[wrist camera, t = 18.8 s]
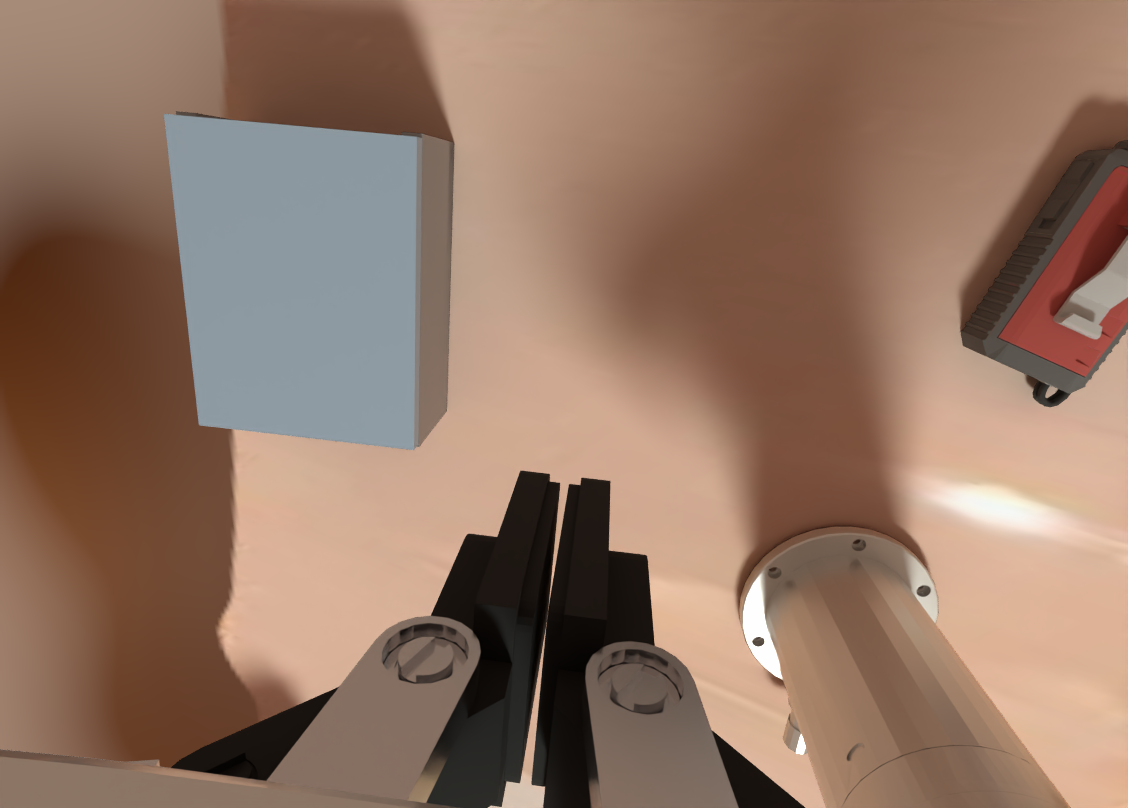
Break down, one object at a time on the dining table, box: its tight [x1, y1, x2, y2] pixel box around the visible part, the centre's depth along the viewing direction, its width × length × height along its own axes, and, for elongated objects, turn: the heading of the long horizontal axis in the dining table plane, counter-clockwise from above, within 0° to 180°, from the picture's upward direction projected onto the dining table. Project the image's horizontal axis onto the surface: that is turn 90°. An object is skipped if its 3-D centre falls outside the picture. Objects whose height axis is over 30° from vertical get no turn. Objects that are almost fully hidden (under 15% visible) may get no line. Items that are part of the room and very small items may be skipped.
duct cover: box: [164, 114, 422, 450], centre depth 32 cm, size 16×12×1 cm
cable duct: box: [176, 112, 454, 447], centre depth 35 cm, size 16×12×6 cm
